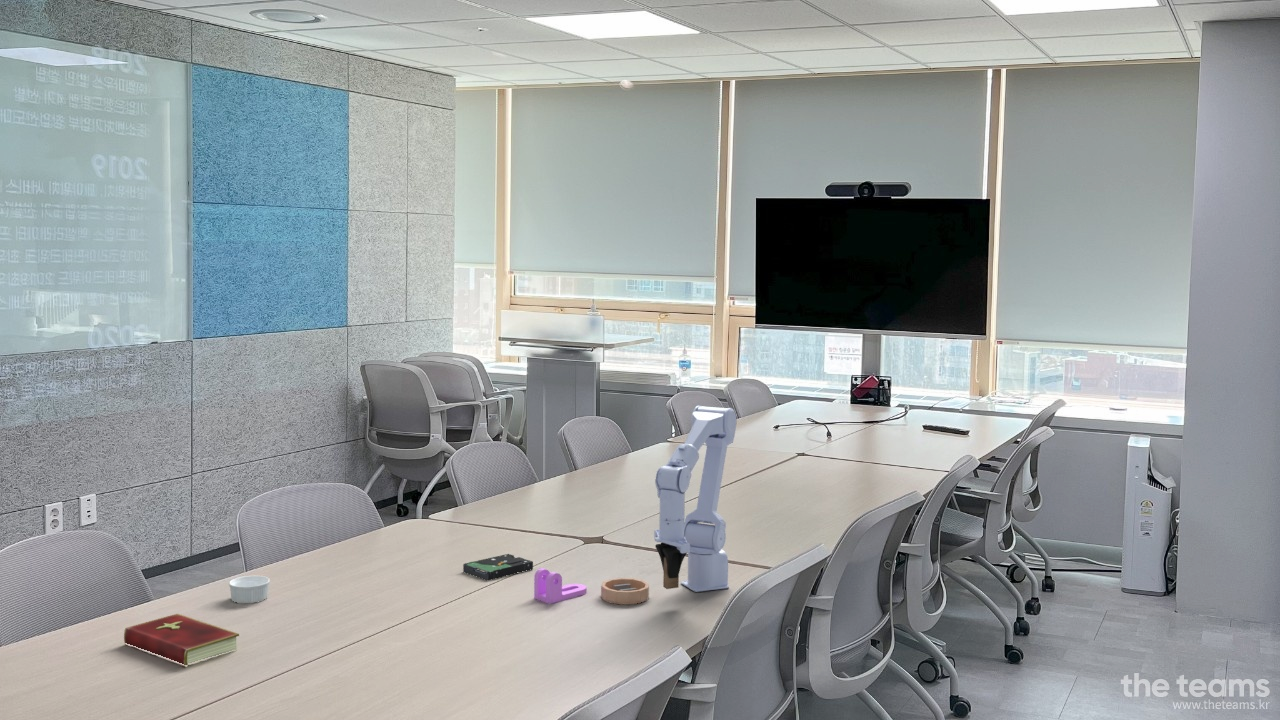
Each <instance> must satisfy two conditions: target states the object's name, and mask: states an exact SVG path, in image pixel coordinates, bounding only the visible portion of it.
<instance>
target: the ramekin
mask: <svg viewBox="0 0 1280 720" xmlns="http://www.w3.org/2000/svg"><path fill="white" fill-rule="evenodd" d="M270 581H271V579H270V577H267V576H264V575H244V576H243V575H242V576H238V577H236V578H233V579H231V580H230V581H229V583H228V585H229V588H230V597H231V601H232V602H233V601H234V603H235V602H237V603H236V604H240V603H250V604H254V603H253V602H257V603H259V602H258V601H261V602H263V601H265V600H267V599H268V597H269V589H270V588H269V586H270ZM264 599H265V600H264ZM262 600H263V601H262Z"/></svg>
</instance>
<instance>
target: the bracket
mask: <svg viewBox="0 0 1280 720" xmlns="http://www.w3.org/2000/svg"><path fill="white" fill-rule="evenodd" d="M533 580H534V581H533V582H534V583H533V587H534V588H533V589H534V590H533V592H534V593H533V594H534V595H533V598H534V599H535V600H538V601H540V600H541V601H540V602H544V603H546V604H549V605H550V604H553V603H554V604H555V603H558V602H562V601H565V600H569V599H572V598H576V597H579V596H584V595H585V594H587V588H588V587H587V585H585V584H581V583H568V584H565V585H563V577H562V575H561V574H560V573H559V572H558V573H557V572H555V571H551V572H550V570H548V569H546V568H544V567H542V568H538V569H537V570H536V571H535V574H534V578H533Z"/></svg>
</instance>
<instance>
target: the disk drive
mask: <svg viewBox="0 0 1280 720" xmlns="http://www.w3.org/2000/svg"><path fill="white" fill-rule="evenodd" d="M462 566H463V567H462V571H463V573H464V572H465V573H464V574H467V573H468V575H470V574H471V575H470V576H473V575H474V576H473V577H476V576H477V577H476V578H478V577H480V578H479V579H481V578H483V579H482V580H484V579H485V581H487V580H488V581H492V580H496V579H495V578H497V579H500V578H499V577H501V578H503V577H502V576H505V577H507V576H506V575H509V576H511V575H510V574H513V575H515V574H514V573H517V572H521V573H523V572H522V571H525V572H527V571H526V570H529V571H531V570H530V569H533V570H534V561H532V560H529V559H525V558H523V557H520V556H518V557H515V555H513V554H510V553H507V554H506V553H505V554H501V555H497V556H492V557H488V558H484V559H479V560H475V561H470V562H466V563H463V565H462ZM517 574H518V573H517ZM491 579H492V580H491Z"/></svg>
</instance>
